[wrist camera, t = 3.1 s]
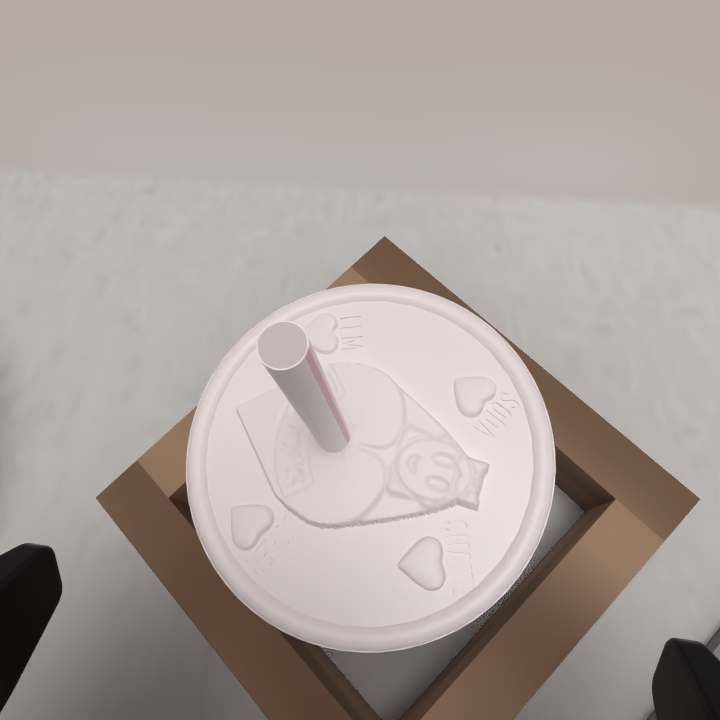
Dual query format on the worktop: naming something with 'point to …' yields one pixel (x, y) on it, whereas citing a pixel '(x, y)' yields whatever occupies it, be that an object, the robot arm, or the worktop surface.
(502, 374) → the smoothie
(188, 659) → the worktop surface
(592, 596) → the walnut holder
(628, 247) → the worktop surface
